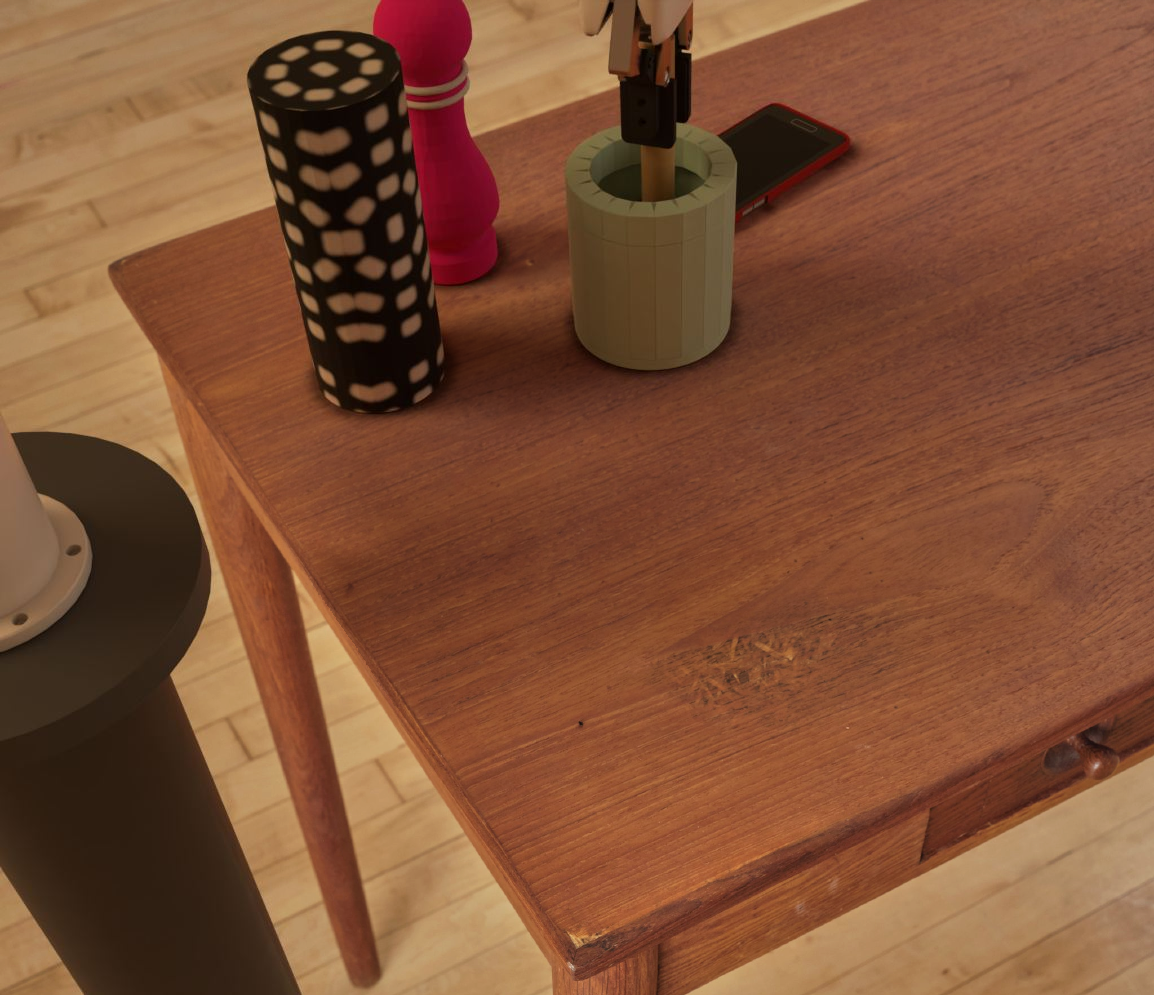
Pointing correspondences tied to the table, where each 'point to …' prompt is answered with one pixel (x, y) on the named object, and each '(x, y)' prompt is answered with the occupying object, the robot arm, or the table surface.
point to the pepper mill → (443, 134)
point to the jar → (651, 250)
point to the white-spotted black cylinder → (351, 215)
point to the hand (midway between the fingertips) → (656, 128)
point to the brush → (658, 157)
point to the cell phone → (778, 153)
